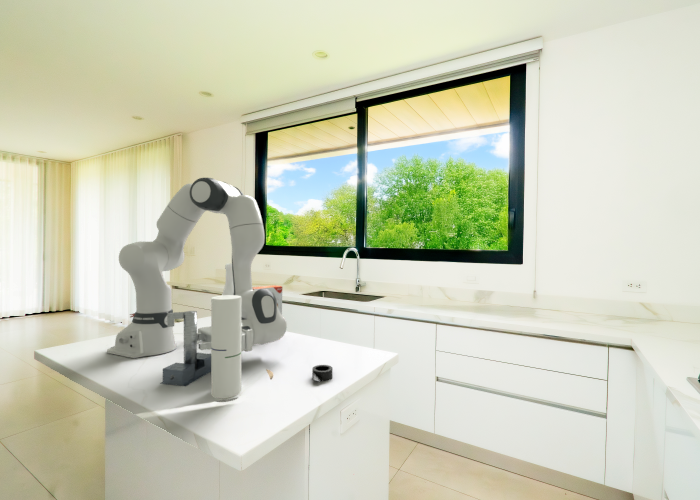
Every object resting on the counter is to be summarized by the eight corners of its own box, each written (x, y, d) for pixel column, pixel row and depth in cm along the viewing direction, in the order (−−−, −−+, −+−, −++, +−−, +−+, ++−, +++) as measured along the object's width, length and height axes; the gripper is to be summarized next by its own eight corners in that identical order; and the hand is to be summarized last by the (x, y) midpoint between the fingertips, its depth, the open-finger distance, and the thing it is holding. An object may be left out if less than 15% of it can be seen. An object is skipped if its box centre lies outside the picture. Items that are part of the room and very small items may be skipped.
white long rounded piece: (227, 330, 153) (228, 262, 153) (246, 332, 150) (246, 263, 150) (212, 336, 144) (212, 264, 144) (231, 338, 141) (231, 264, 141)
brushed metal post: (197, 372, 101) (196, 310, 101) (196, 376, 98) (196, 312, 98) (168, 375, 98) (168, 312, 98) (167, 380, 95) (167, 314, 95)
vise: (185, 390, 91) (185, 371, 91) (159, 387, 93) (159, 368, 93) (217, 370, 105) (217, 354, 105) (194, 368, 107) (194, 352, 107)
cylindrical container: (216, 390, 91) (216, 295, 91) (244, 389, 92) (244, 295, 91) (207, 402, 84) (207, 299, 84) (237, 401, 85) (237, 299, 84)
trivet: (225, 382, 96) (225, 380, 96) (245, 369, 107) (245, 367, 107) (262, 386, 94) (262, 384, 94) (279, 372, 104) (279, 370, 104)
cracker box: (253, 341, 137) (253, 288, 136) (245, 338, 141) (245, 287, 140) (282, 335, 147) (282, 285, 147) (274, 332, 151) (274, 284, 151)
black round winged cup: (300, 378, 100) (300, 368, 100) (327, 370, 107) (327, 361, 107) (316, 387, 94) (316, 376, 94) (344, 377, 101) (344, 367, 101)
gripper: (224, 319, 116) (180, 325, 107) (254, 330, 102) (207, 339, 92) (224, 338, 117) (180, 346, 107) (254, 352, 102) (207, 363, 92)
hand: (193, 343), depth 99 cm, fingers open, 8 cm apart
